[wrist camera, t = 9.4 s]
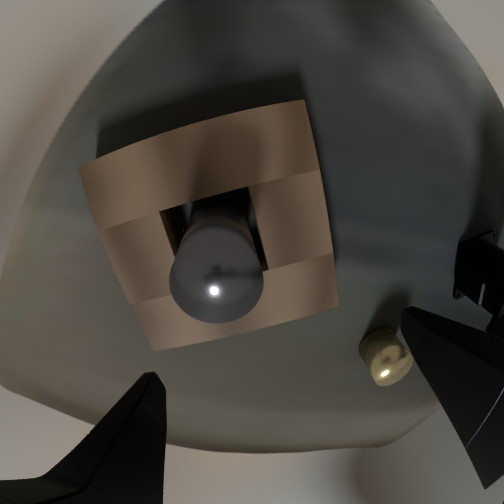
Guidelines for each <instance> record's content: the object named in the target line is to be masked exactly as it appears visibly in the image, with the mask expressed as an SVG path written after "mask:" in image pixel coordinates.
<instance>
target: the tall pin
mask: <svg viewBox="0 0 504 504" xmlns="http://www.w3.org/2000/svg"><path fill="white" fill-rule="evenodd" d="M263 286H264V277H263V272H262V269H261V265H260V262H259V259H258V256H257V253H256V249H255V246H254V243H253V240H252V236H251V233H250V230H249V227H248V223H247V220H246V217H245V215H244V214H243V212H242V211H241V210H240V208H239V207H237V206H236V205H235V204H233V203H231V202H229V201H225V200H211V201H208V202H205V203H203V204H202V205H200V206H199V207H198V208H197V209H196V210H195V211H194V213H193V214H192V216H191V218H190V221H189V223H188V226H187V228H186V231H185V233H184V236H183V238H182V241H181V244H180V246H179V249H178V251H177V254H176V257H175V259H174V262H173V265H172V267H171V270H170V275H169V287H170V291H171V294H172V297H173V299H174V301H175V302H176V304H177V305H178V306H179V307H180V308H181V310H183V311H184V312H185V313H186V314H188V315H189V316H191V317H193V318H195V319H197V320H199V321H203V322H207V323H217V324H218V323H227V322H231V321H235V320H237V319H239V318H241V317H243V316H245V315H246V314H247V313H249V312H250V311H251V310H252V309H253V308H254V307H255V306H256V304H257V303H258V301H259V299H260V297H261V295H262V292H263Z"/></svg>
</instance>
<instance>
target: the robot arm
mask: <svg viewBox="0 0 504 504" xmlns="http://www.w3.org/2000/svg"><path fill="white" fill-rule="evenodd" d="M496 235H497V233H496V231H494V230H491V231H489V232H486V233H484V234H481V235H479V236H476V237H474V238H471V239H469V240H466V241H464V242H461V243H460V244H459V247H458V258H457V269H456V278H455V286H454V293H453V298H455V299H456V300H458V299H460V298H462V297H464V296H467V297H468V298H469V299H471V300H472V301H473V302H474V303H476V304H477V305H478V306H482V307H483V308H484V309H486V310H487V311H488V312H489V313H490V314H492V315H493V317H492V319H491V321H490V323H489V324H488V325H487V327H486V329H485V330H486V331H487V332H484V331H481V330H478V329H476V328H473V327H470V326H467V325H464V324H462V323H459V322H456V321H453V320H450V319H448V318H445V317H442V316H439V315H436V314H434V313H431V312H428V311H425V310H422V309H420V308H417V307H414V306H410V307H408V308H405V309H403V310H402V314H401V332H402V335H403V337H404V339H405V341H406V343H407V345H408V347H409V349H410V351H411V353H412V355H413V357H414V359H415V361H416V363H417V365H418V367H419V368H420V370H421V372H422V373H423V375H424V376H425V378H426V380H427V381H428V383H429V385H430V386H431V388H432V390H433V391H434V393H435V395H436V396H437V398H438V400H439V402H440V403H441V405H442V407H443V408H444V410H445V412H446V414H447V415H448V417H449V419H450V421H451V423H452V424H453V426H454V428H455V430H456V432H457V434H458V435H459V438H460V440H461V441H462V443H463V445H464V447H465V449H466V451H467V454H468V456H469V458H470V459H471V461H472V463H473V466H474V468H475V470H476V472H477V474H478V476H479V479H480V481H481V483H482V485H483V487H484V489H487V488H488V487H489V486H491V485H492V484H493V483H495V482H496V481H497V480H498V479H499V478H501V477H502V476H503V475H504V250H503V249H502V248H500V247H498V246H496ZM166 433H167V413H166V389H165V386H164V385H163V383H162V382H161V380H160V378H159V377H158V375H157V374H156V373H155V372H147V373H144V374H143V375H142V376H141V377H140V378H139V379H138V380H137V381H136V382H135V383H134V384H133V386H132V387H131V388H130V389H129V390H128V391H127V392H126V393H125V394H124V395H123V396H122V398H121V399H120V400H119V401H118V402H117V403H116V404H115V405H114V406H113V407H112V408H111V410H110V411H109V412H108V413H107V414H106V415H105V416H104V417H103V418H102V419H101V420H100V421H99V423H98V424H97V425H96V426H95V427H94V428H93V429H92V430H91V431H90V433H89V434H87V436H86V437H85V438H84V439H83V440H82V441H81V442H80V443H79V444H78V445H77V446H76V447H75V448H74V449H73V450H72V451H71V452H70V453H69V454H68V455H67V456H65V457H64V458H63V459H62V460H61V461H60V462H59V463H58V464H56V465H55V466H54V467H53V468H52V469H51V470H50V471H48V472H47V473H46V474H44V475H42V476H40V477H37V478H30V479H18V480H0V504H163V484H164V463H165V447H166ZM503 504H504V502H503Z"/></svg>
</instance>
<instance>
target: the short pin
mask: <svg viewBox="0 0 504 504" xmlns="http://www.w3.org/2000/svg"><path fill="white" fill-rule="evenodd" d="M359 354H360V356H361V358H362V360H363V361H364V363H365V365H366V367H367V368H368V370H369V372H370V373H371V375H372V377H373V379H374V380H375V382H376V384H377V385H379V386H387V385H391V384H393V383H395V382H397V381H398V380H400V379H401V378H402V377H404V376H405V375H406V374H407V372H408V371H409V370H410V368H411V366H412V364H413V357H412V355H411V354H410V353H409V352H408V350H407V349H406V348H405V346H404V345H403V344H402V343H401V341H400V340H399V339H398V337H397V336H396V335H395V334H394V332H393V331H392V330H391V329H389V328H379V329H376V330H374V331H372V332H371V333H370V334H368V335H367V336H366V337H365V338H364V339H363V341H362V342H361V344H360V347H359Z"/></svg>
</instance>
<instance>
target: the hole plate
mask: <svg viewBox="0 0 504 504" xmlns="http://www.w3.org/2000/svg"><path fill="white" fill-rule="evenodd" d="M78 170H79V174H80V177H81V181H82V184H83V187H84V190H85V194H86V197H87V200H88V203H89V206H90V209H91V212H92V215H93V217H94V220H95V223H96V226H97V229H98V231H99V234H100V237H101V239H102V242H103V244H104V247H105V249H106V252H107V254H108V257H109V259H110V262H111V264H112V266H113V269H114V271H115V273H116V276H117V278H118V280H119V282H120V285H121V287H122V289H123V291H124V293H125V295H126V297H127V300H128V302H129V304H130V306H131V308H132V310H133V312H134V314H135V316H136V318H137V320H138V322H139V324H140V326H141V328H142V329H143V331H144V333H145V335H146V337H147V339H148V341H149V342H150V344H151V346H152V348H153V350H154V351H158V350H164V349H170V348H175V347H180V346H185V345H191V344H196V343H200V342H205V341H210V340H215V339H219V338H224V337H228V336H232V335H237V334H241V333H245V332H249V331H253V330H257V329H261V328H265V327H269V326H273V325H277V324H281V323H284V322H288V321H292V320H295V319H299V318H302V317H306V316H309V315H313V314H316V313H320V312H323V311H326V310H330V309H333V308H336V307H339V299H338V289H337V280H336V271H335V263H334V255H333V247H332V240H331V233H330V226H329V220H328V213H327V207H326V201H325V195H324V190H323V184H322V179H321V173H320V168H319V163H318V158H317V153H316V148H315V144H314V139H313V135H312V130H311V126H310V121H309V117H308V113H307V109H306V105H305V101H304V99H303V100H296V101H290V102H284V103H279V104H273V105H268V106H263V107H258V108H253V109H248V110H244V111H240V112H235V113H231V114H227V115H223V116H219V117H215V118H211V119H208V120H204V121H201V122H197V123H194V124H190V125H187V126H184V127H180V128H177V129H174V130H171V131H168V132H165V133H162V134H159V135H156V136H153V137H150V138H148V139H145V140H142V141H139V142H137V143H134V144H131V145H129V146H126V147H124V148H121V149H119V150H116V151H114V152H111V153H109V154H107V155H104V156H102V157H100V158H97V159H95V160H93V161H91V162H88V163H86V164H84V165H82V166H80V167H78ZM243 187H247V189H248V193H249V197H250V201H251V205H252V209H253V213H254V217H255V221H256V225H257V229H258V233H259V238H260V242H261V246H262V250H263V254H264V255H262V256H259V257H258V259H259V262H260V265H261V269H262V272H263V277H264V286H263V292H262V295H261V297H260V299H259V301H258V303H257V304H256V306H255V307H254V308H253V309H252V310H251V311H250V312H249V313H247V314H246V315H245V316H243V317H241V318H239V319H237V320H235V321H231V322H227V323H218V324H217V323H207V322H203V321H199V320H197V319H195V318H193V317H191V316H189V315H188V314H186V313H185V312H184V311H183V310H181V308H180V307H179V306H178V305H177V304H176V302H175V301H174V299H173V297H172V294H171V291H170V287H169V275H170V270H171V267H172V265H173V262H174V259H175V257H176V254H177V251H178V249H179V246H180V241H179V238H178V235H177V232H176V229H175V226H174V223H173V220H172V217H171V214H170V211H169V208H172V207H175V206H178V205H182V204H185V203H188V202H192V201H195V200H199V199H202V198H206V197H210V196H213V195H217V194H221V193H224V192H228V191H232V190H236V189H239V188H243Z"/></svg>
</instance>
